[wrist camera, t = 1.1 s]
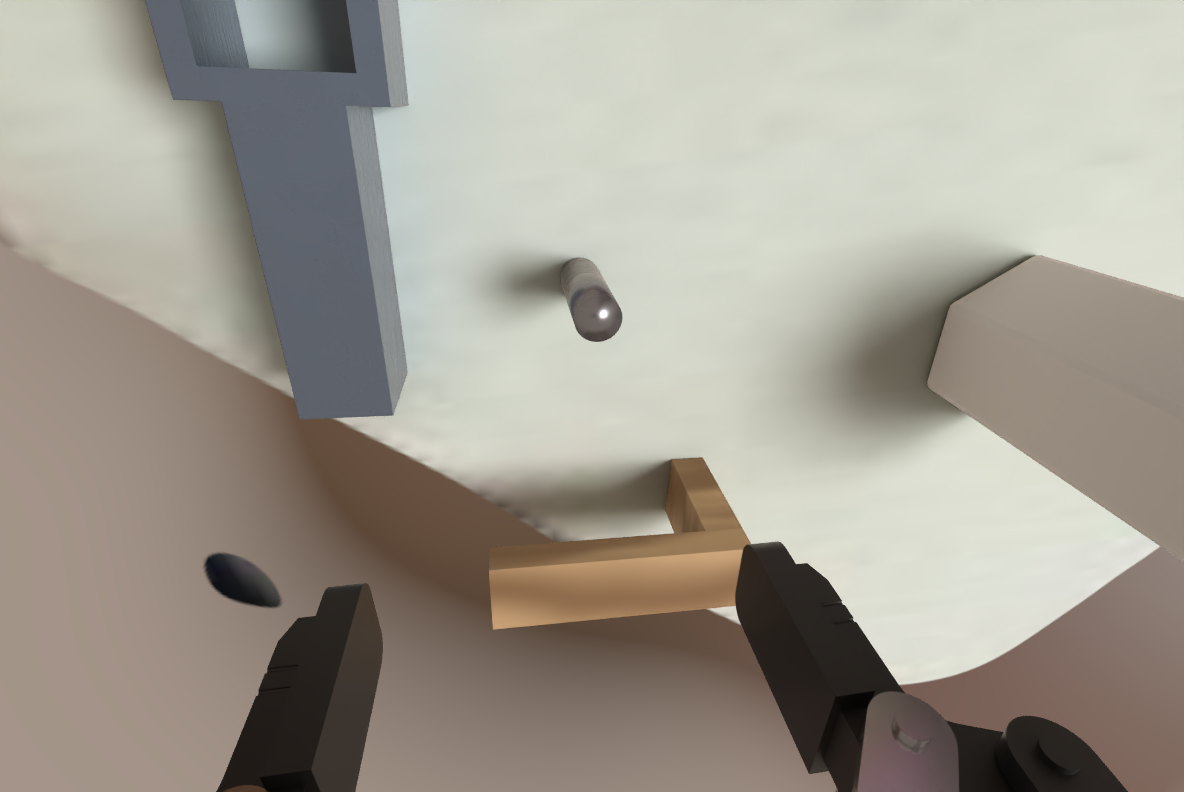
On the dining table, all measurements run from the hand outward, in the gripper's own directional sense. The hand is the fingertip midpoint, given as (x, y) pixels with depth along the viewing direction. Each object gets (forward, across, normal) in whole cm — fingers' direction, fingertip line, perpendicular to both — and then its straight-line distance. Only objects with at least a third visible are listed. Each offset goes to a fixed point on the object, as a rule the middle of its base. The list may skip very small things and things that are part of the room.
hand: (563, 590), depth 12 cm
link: (+19, +8, -7) cm, 22 cm away
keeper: (+19, -4, +12) cm, 23 cm away
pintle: (+19, -3, -1) cm, 19 cm away
